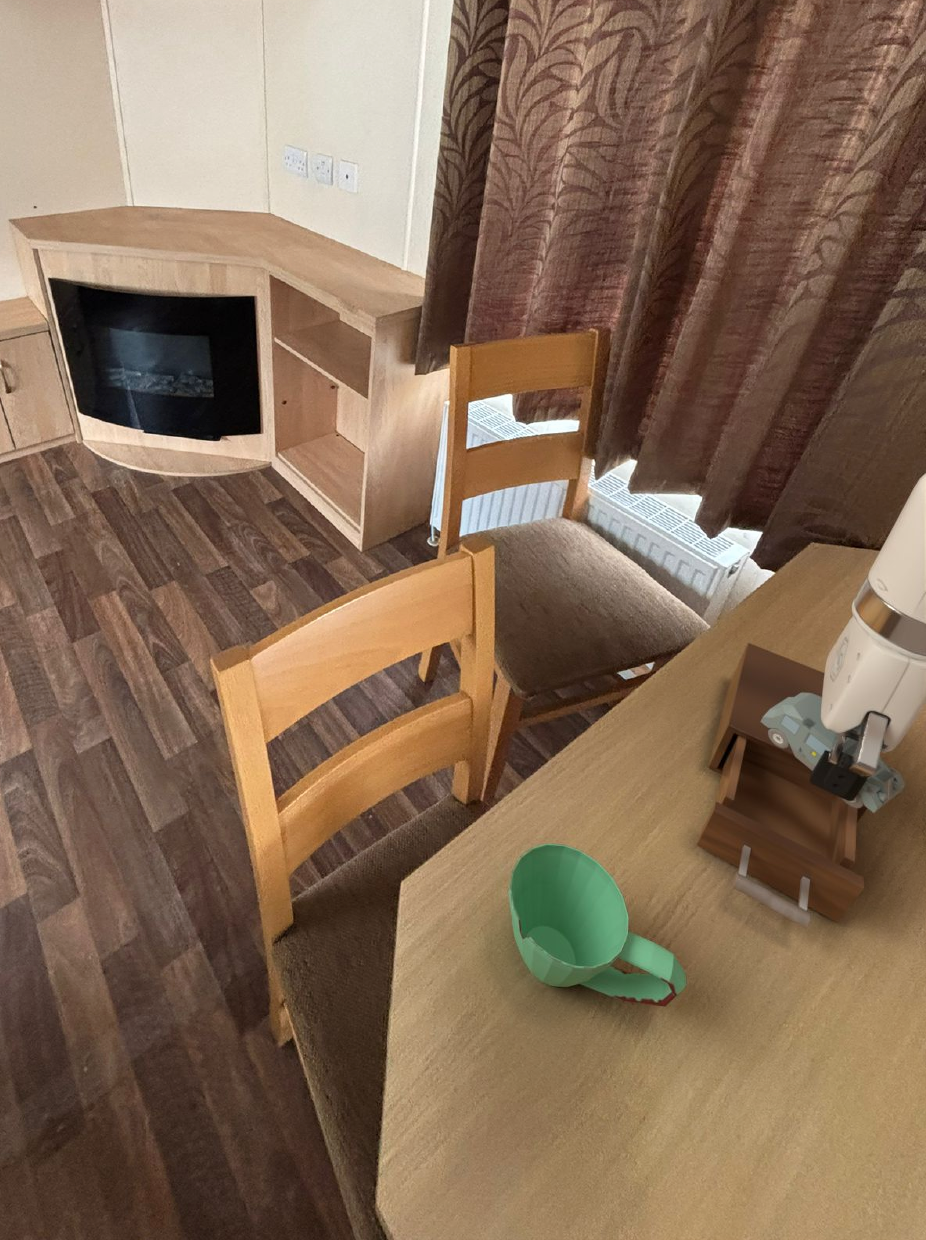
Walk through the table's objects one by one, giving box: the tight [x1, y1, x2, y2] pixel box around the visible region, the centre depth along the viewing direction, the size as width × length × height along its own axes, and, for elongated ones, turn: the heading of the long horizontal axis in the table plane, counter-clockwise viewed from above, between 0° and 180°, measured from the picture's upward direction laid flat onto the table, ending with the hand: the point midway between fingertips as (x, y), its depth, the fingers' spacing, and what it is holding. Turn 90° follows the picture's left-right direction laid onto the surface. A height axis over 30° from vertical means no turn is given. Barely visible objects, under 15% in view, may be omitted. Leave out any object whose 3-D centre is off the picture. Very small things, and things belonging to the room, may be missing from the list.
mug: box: [507, 842, 687, 1008], centre depth 60 cm, size 15×10×10 cm
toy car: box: [761, 693, 906, 814], centre depth 62 cm, size 6×10×5 cm, turn 28°
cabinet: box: [707, 642, 869, 824], centre depth 79 cm, size 15×14×8 cm
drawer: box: [696, 734, 865, 929], centre depth 69 cm, size 18×12×6 cm
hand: (833, 751), depth 62 cm, fingers closed on toy car, 8 cm apart
